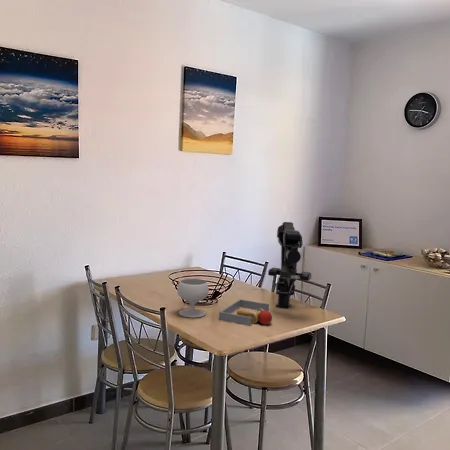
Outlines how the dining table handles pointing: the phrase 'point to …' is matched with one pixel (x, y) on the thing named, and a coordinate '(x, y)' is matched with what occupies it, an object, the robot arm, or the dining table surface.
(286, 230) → the robot arm
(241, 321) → the box
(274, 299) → the dining table surface
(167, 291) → the dining table surface
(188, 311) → the chalice
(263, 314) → the kendama
